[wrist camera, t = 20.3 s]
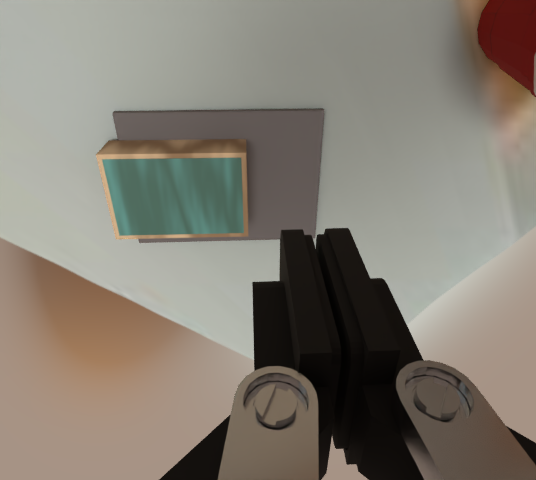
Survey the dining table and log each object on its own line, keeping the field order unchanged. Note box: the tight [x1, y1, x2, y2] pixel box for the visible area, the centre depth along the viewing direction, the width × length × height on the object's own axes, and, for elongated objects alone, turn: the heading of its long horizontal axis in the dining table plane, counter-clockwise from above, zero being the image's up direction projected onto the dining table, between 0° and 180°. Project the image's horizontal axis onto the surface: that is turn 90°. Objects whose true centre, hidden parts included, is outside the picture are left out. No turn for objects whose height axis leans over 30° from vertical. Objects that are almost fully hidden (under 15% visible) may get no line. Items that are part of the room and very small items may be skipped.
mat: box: [113, 109, 324, 243], centre depth 38 cm, size 18×13×1 cm
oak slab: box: [96, 139, 248, 239], centre depth 36 cm, size 4×8×12 cm
